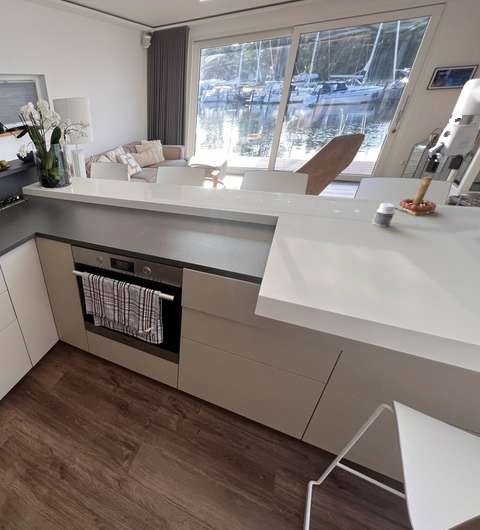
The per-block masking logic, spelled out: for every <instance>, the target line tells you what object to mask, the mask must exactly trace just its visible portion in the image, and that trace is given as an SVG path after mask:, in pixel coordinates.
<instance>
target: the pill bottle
mask: <svg viewBox="0 0 480 530" xmlns="http://www.w3.org/2000/svg"><path fill="white" fill-rule="evenodd" d="M395 206H396V205H395V204H393V203H389V202H383V203H380V205H379V208H378V209H376V212H375V215H374V218H373V220H372V224H371V225H373V226H376V227H378V228H379V227H380V228H388V227H390V225H391V222H392V219H393V217H394V216H395V210H396V209H395Z"/></svg>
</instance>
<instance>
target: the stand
mask: <svg viewBox="0 0 480 530" xmlns="http://www.w3.org/2000/svg"><path fill="white" fill-rule="evenodd" d="M432 181H433V176H423V178H422V180H421V182H420V185H419V187H418V190H417V192H416V194H415V196H414V198H413V199H414V201H413V203H412V205H418V206H420V204H421V202H422V200H424V198H425V196H426V193H427V191H428V189H429V187H430V185H431V183H432ZM406 210H407V211H409V212H410V213H411V214H410V215H412V214H413V215H412V216H419V215H418V214H420V215H423V214H422V213H427V212H432V211H435V212H436V208H435V209H434V210H431V211H415V210H409V209H406ZM427 214H428V213H427Z"/></svg>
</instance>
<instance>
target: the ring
mask: <svg viewBox="0 0 480 530" xmlns="http://www.w3.org/2000/svg"><path fill="white" fill-rule="evenodd" d="M413 201H414V198H407V199H402V200H401V201H400V202H399V204H398V205H400V206H402V207H403V208H406V209H409V210H415V211H431V210H434V209H435V210H436V208H437V204H436V203H434V202H433V201H430V200H426V199H423V200H422V202H421V204H425V206H424V205H422V206H418V205H412V204H409V203H413Z"/></svg>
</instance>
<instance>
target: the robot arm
mask: <svg viewBox="0 0 480 530" xmlns="http://www.w3.org/2000/svg"><path fill="white" fill-rule="evenodd" d="M479 131H480V78H472V79H469V80H467V81H466V83H464V85H463V88H462V90H461V92H460V95H459V97H458V99H457V101H456V104H455V106H454V108H453V111H452V113H451V116H450V117H449V120H448V122H447V124H446V126H445V128H444V129H443V131H442V133H441V134H440V136H439V138H438V140H437V142H436V144H435V146H433V147H431V148H430V149H429V150H428V155H427V158H428V159H427V161H428V162H427V165H426V168H425V169H424V172H425V173H428V174H435V173H437V171H438V168H439V165H440V163H441V160H442V159H443V158H444V157H452V158H451V161H450V162H449V165H448V167H447V169H449V170H455V171H458V170H460V168H461V166H462V164H463V162H464V160H465V159H466V158H467V157H468V155H469V154H471V151H472V150H473V149H474V148H475V147H476V144H475V142H476V139H477V136H478V135H479Z"/></svg>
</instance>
